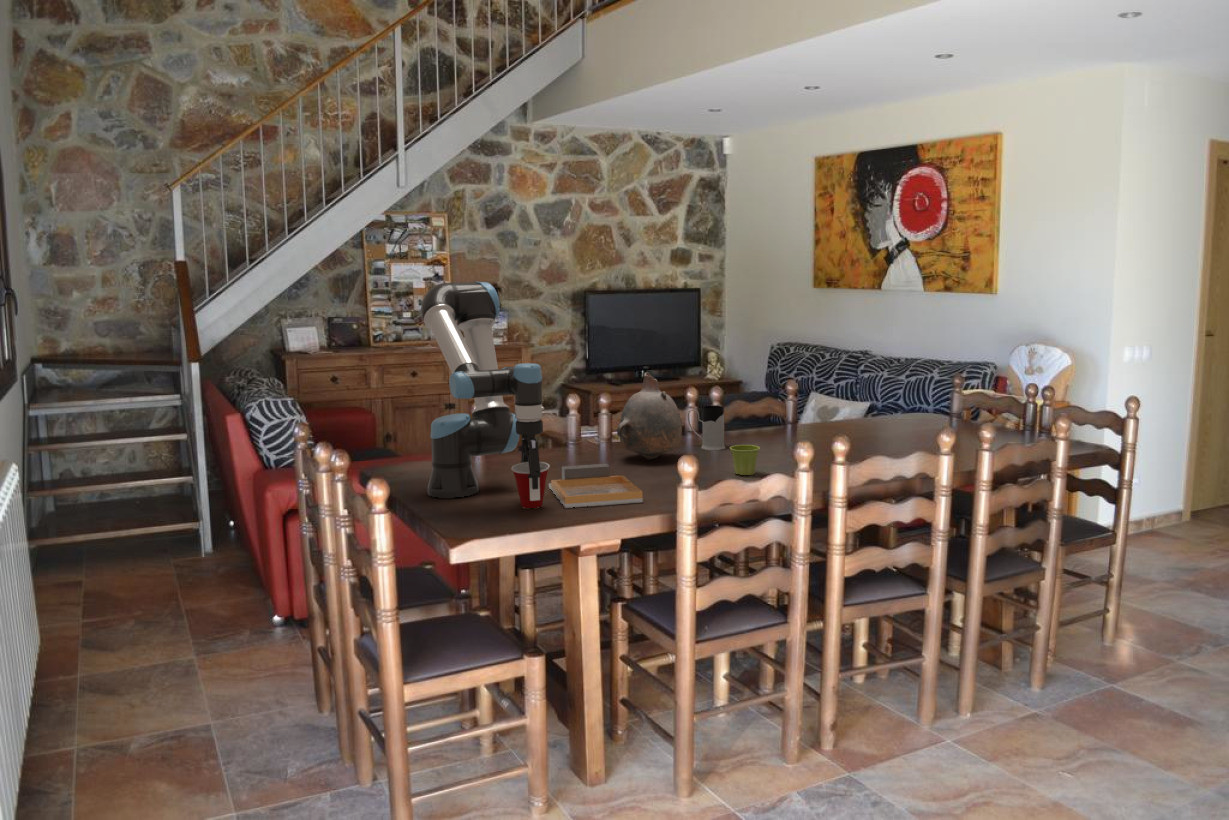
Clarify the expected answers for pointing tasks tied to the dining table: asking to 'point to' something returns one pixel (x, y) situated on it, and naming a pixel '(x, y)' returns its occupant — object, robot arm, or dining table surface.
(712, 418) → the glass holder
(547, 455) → the dining table surface
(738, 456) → the plant pot
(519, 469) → the plastic cup
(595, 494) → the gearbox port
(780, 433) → the dining table surface
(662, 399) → the jug
